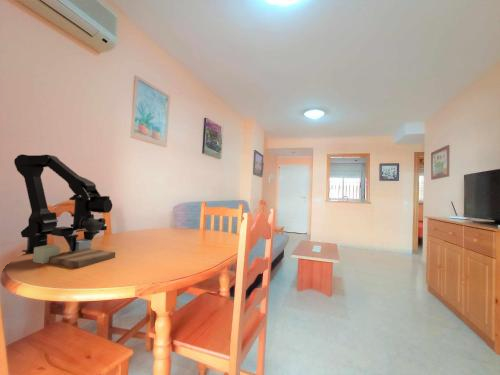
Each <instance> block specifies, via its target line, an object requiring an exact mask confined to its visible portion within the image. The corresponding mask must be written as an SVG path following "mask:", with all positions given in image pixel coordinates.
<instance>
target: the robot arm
mask: <svg viewBox="0 0 500 375" xmlns="http://www.w3.org/2000/svg"><path fill="white" fill-rule="evenodd" d="M13 160H14V161H13V164H14V167H15V168H16V171H17V172H18V173H19V174H20V175H21V176H22V177H23V179H24V182H25V187H26V192H27V197H28V201H29V205H30V210H31V213H30V215H29V218H28V225H27V226H26V227H24V228H23V229H22V230H21V231H20V235H21V237H22V238H27V242H26V249H22V250H21V252H22V253H23V252H24V253H28V254H34V247H40V246H45V245H48V235H51V236H56V237H63V238H64V240H65V241H66V243H67V244H68V247H70V249H71V251H72V252H73V251H75V248H76V240H77V238H78V237H80V235H79V234H77V233H78V232H83V239H88V240H91V242H92V241H93V239H94V238H95V236H96V235H97V234H99V233H100V231H101V232H102V231H107V229H108V225H107V223H106V219H105V218H104V217H100V218H95V215H94V214H93V213H104V214H105V213H106V214H108V213H110V212H111V210H112V208H113V203H112V200H111V199H110V198H111V197H110V196H109V195H101V194H100V192H99V190H98V189H97V185H96V184H95V183H94V181H91V180H89V179H88V178H86V177H83V176H82V175H81V176H80V175H79V174H77V173H76V172H75V171H74V170H72V169H71V168H70V167H69V166H67V164H65V163H64V162H62V161H61V160H60V159H59V158H58V156H55V155H52V154H51V155H50V154H41V155H32V154H30V155H28V154H22V153H21V154H19V155H17V156H16V158H14V159H13ZM45 168H49V169H50V170H52V171H53V172H54V173H55V174H57V176H59V177H60V178H61V179H63V180H64V181H65V182H66V183H67V185H68V188H69V189H70V190H71V192H73V195H72V196H70V197H69V198H68V200H69V201H74V208H73V213H71V215H70V216H71V217H72V218H73V221H72V224H70V226H58V222H59V220H58V218H57V213H56V212H51V210H49V208H48V204H47V203H48V202H47V199H46V195H45V194H46V193H45V189H44V185H43V181H42V177H41V176H42V174H43V172H44V169H45Z"/></svg>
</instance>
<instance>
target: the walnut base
mask: <svg viewBox="0 0 500 375" xmlns="http://www.w3.org/2000/svg"><path fill="white" fill-rule="evenodd" d="M115 258H116V251H114V252H113V251H108V250H102V249H97V248H92V247H91V248H87V249H82V250H78V251H73V252H69V251H68V252H65V253H59V255H55V256H50V257H49V262H48V263H49V264H54V265H59V266H60V265H61V266H66V267H71V268H76V269H82V268H85V267H88V266H92V265H95V264H98V263H101V262H102V263H103V262H105V261H108V260H111V259H115Z"/></svg>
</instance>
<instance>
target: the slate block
mask: <svg viewBox="0 0 500 375" xmlns="http://www.w3.org/2000/svg"><path fill="white" fill-rule="evenodd" d="M68 247H69V246H68ZM87 248H91V249H92V241H91V240H88V239H84V238H79V239H76V248H75V251H78V250H82V249H87ZM68 249H69V250H68V253H69V252H72V251H71V249H70V247H69V248H68Z"/></svg>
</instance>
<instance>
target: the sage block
mask: <svg viewBox="0 0 500 375" xmlns="http://www.w3.org/2000/svg"><path fill="white" fill-rule="evenodd" d="M60 250H61V246H60V245H54V244H47V245H45V246H40V247H34V253H33V257H32V262H33V263H37V264H38V263H39V264H47V263H49V257H50V256H55V255H59V254H60V252H61V251H60Z"/></svg>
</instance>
